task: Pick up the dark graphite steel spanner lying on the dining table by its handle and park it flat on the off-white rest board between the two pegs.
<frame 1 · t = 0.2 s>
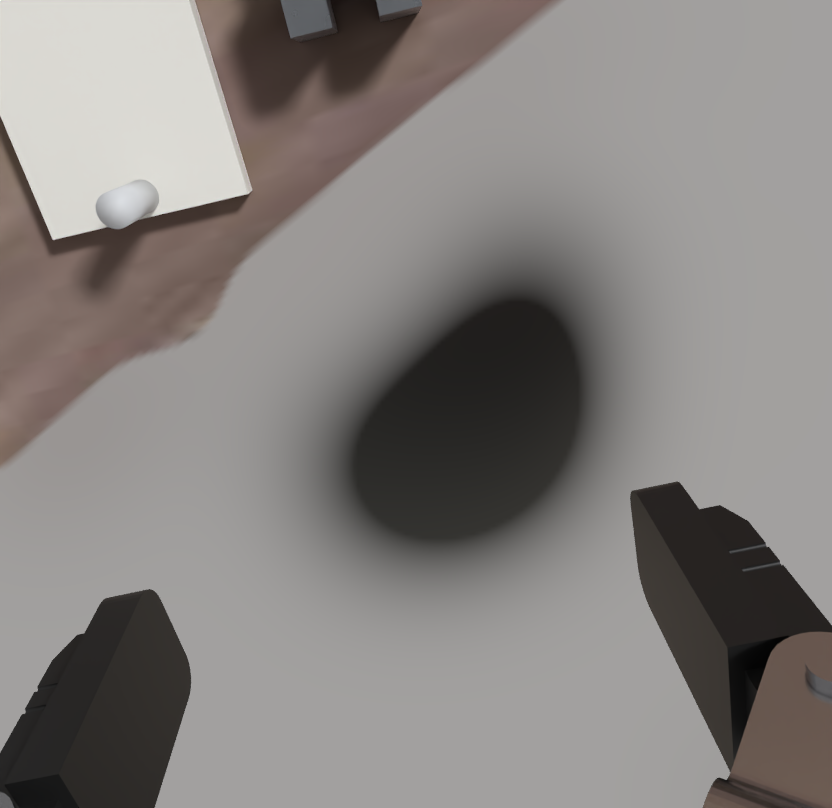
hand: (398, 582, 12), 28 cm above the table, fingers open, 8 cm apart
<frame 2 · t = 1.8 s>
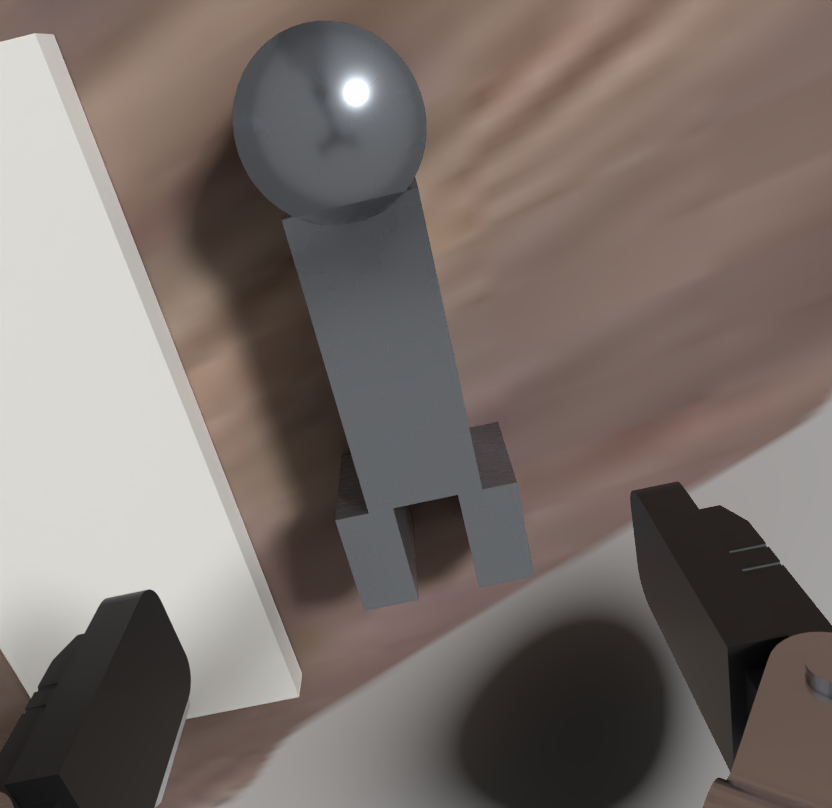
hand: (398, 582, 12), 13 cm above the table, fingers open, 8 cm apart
peg rest: (63, 449, 25), on the table
spanner: (389, 319, 24), on the table
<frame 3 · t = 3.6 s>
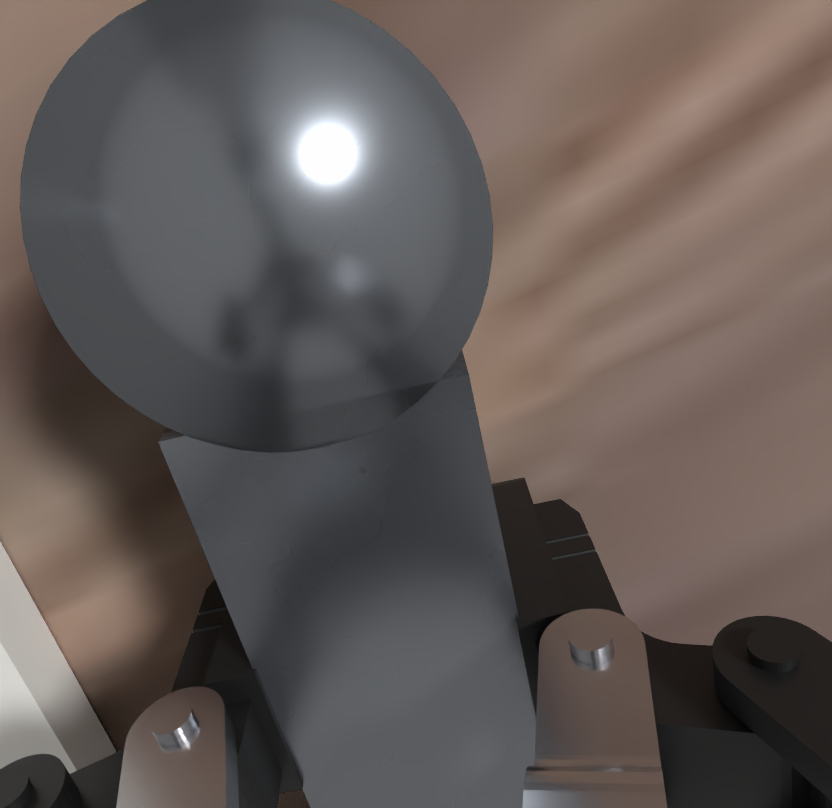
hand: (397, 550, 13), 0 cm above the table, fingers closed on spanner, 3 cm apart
spanner: (398, 533, 14), on the table, touching gripper
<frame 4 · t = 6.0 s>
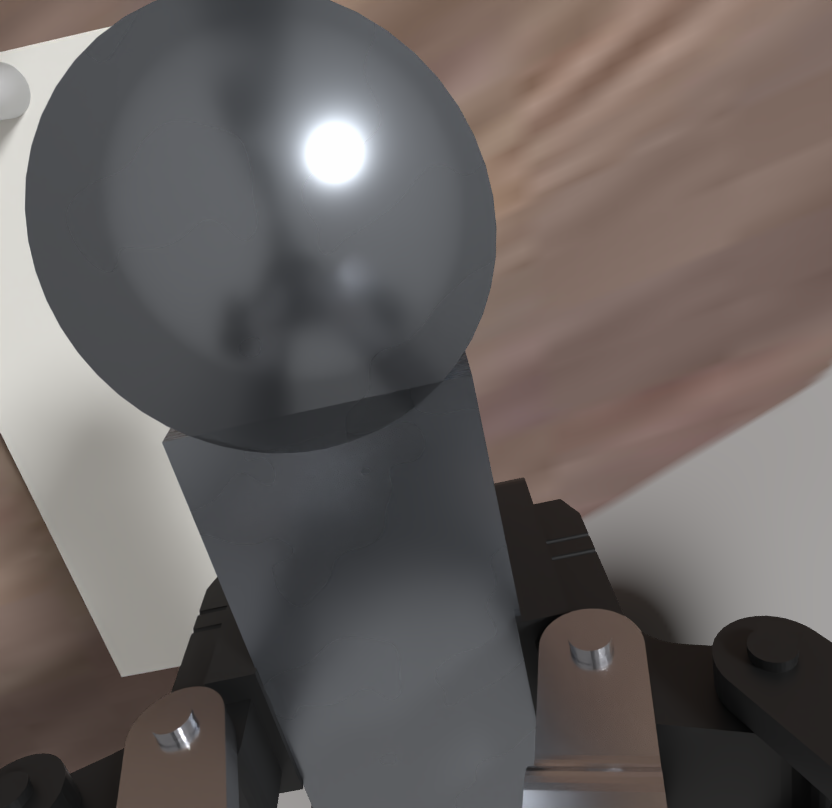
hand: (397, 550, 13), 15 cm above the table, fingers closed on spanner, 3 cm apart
peg rest: (142, 397, 28), on the table
spanner: (400, 533, 14), point 15 cm above the table, touching gripper
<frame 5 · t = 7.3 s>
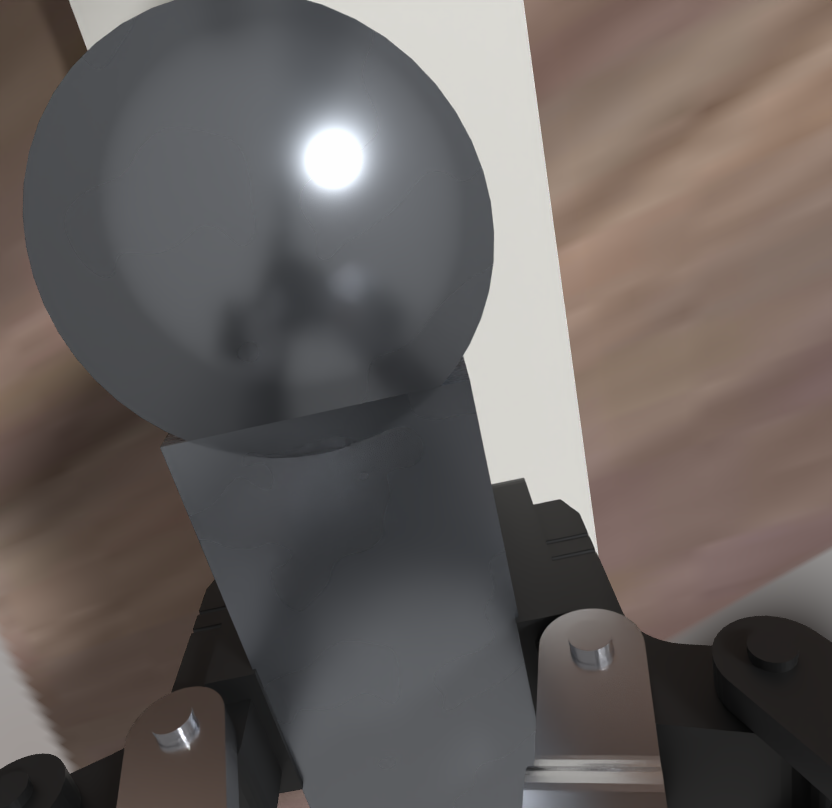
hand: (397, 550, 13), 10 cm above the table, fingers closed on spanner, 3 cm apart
peg rest: (389, 349, 22), on the table
spanner: (399, 536, 14), point 9 cm above the table, touching gripper
when the fingers open (3 cm above the table, at t = 8.6 s): spanner drops 1 cm, resting on peg rest.
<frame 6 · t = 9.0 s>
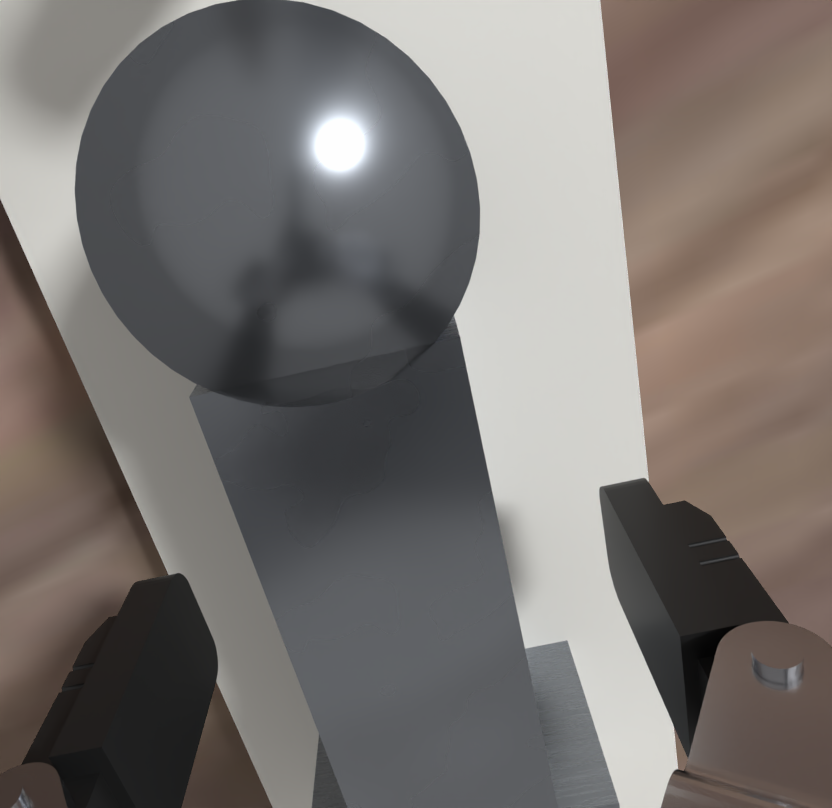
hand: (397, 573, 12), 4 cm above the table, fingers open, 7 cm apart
peg rest: (395, 467, 16), on the table
spanner: (399, 497, 15), point 1 cm above the table, touching peg rest
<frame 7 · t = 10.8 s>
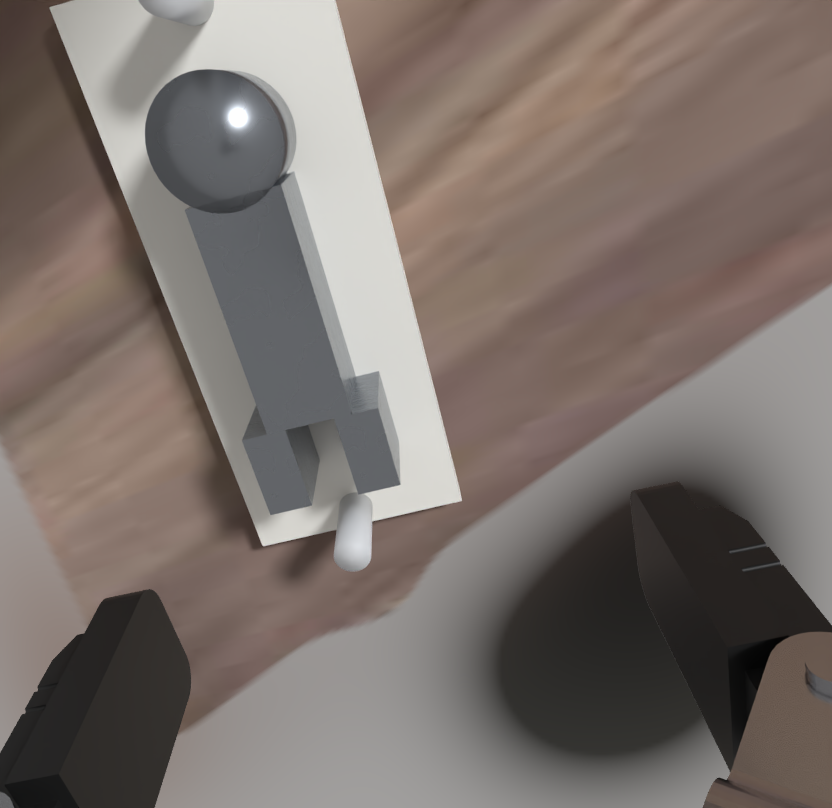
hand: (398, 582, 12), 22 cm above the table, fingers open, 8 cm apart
peg rest: (288, 282, 32), on the table
spanner: (286, 290, 31), point 1 cm above the table, touching peg rest
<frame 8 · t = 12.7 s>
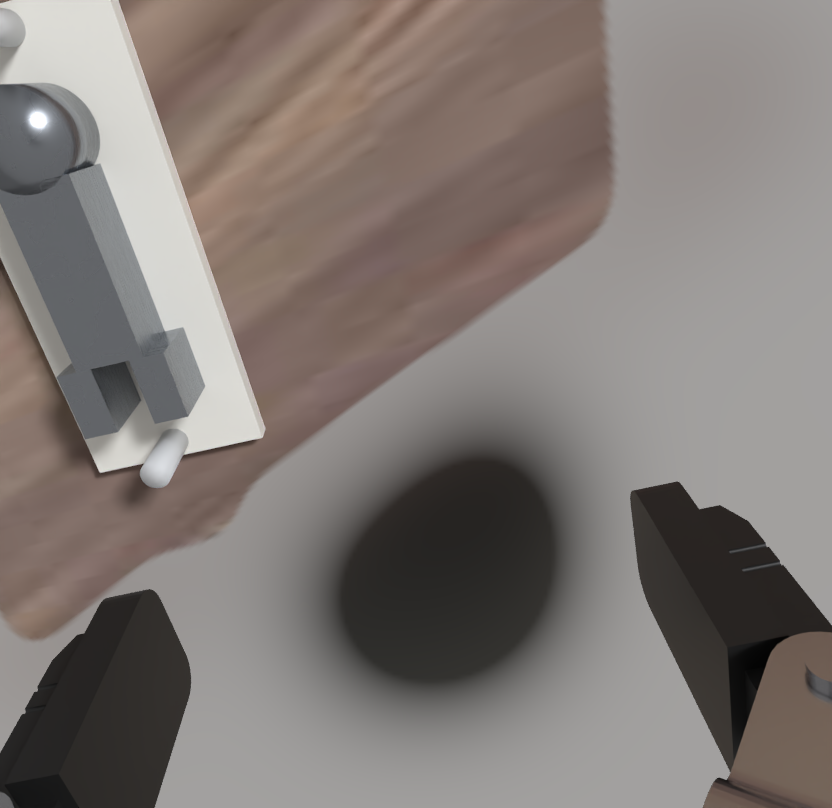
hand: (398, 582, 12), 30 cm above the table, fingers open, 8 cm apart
peg rest: (108, 253, 40), on the table
spanner: (102, 258, 39), point 1 cm above the table, touching peg rest
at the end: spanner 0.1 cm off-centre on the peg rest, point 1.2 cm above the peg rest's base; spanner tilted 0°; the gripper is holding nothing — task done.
